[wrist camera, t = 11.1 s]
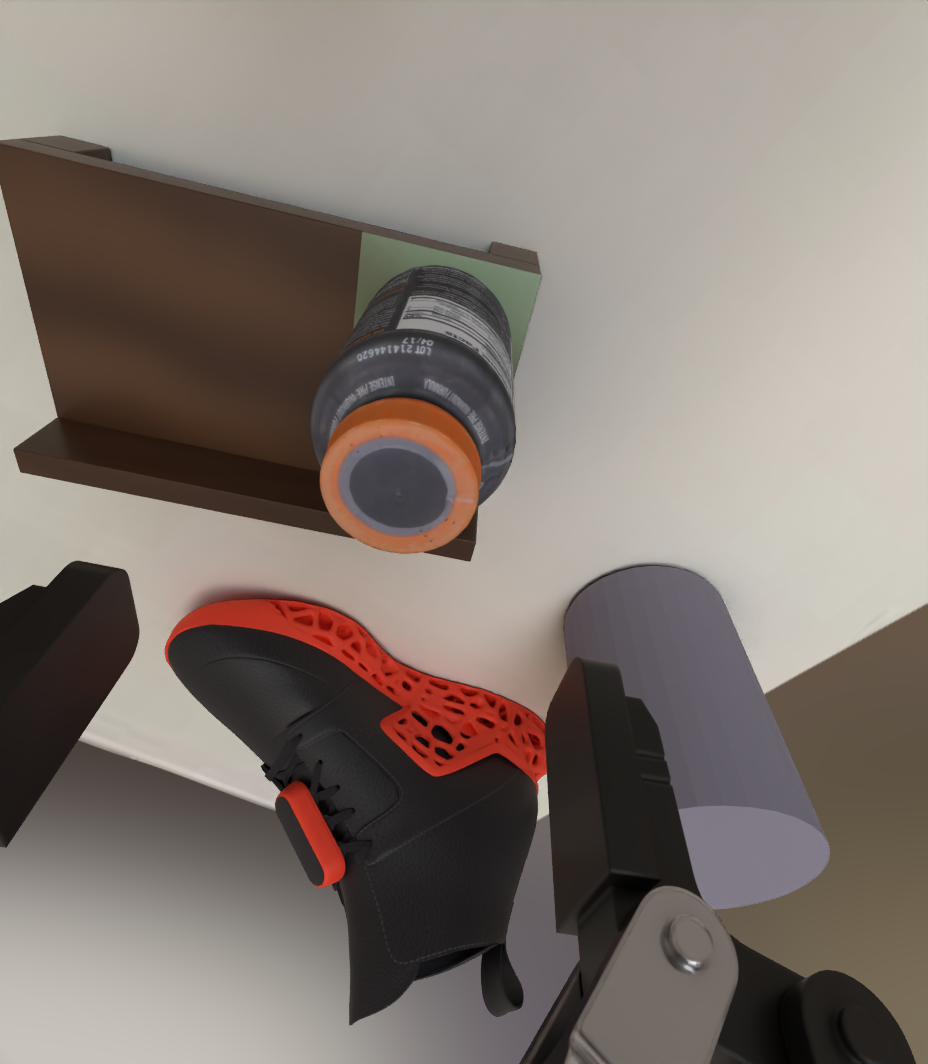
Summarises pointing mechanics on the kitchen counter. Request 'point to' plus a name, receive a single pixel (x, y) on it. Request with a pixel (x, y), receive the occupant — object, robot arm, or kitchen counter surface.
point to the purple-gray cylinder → (706, 730)
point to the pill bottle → (417, 412)
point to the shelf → (203, 328)
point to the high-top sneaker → (379, 786)
